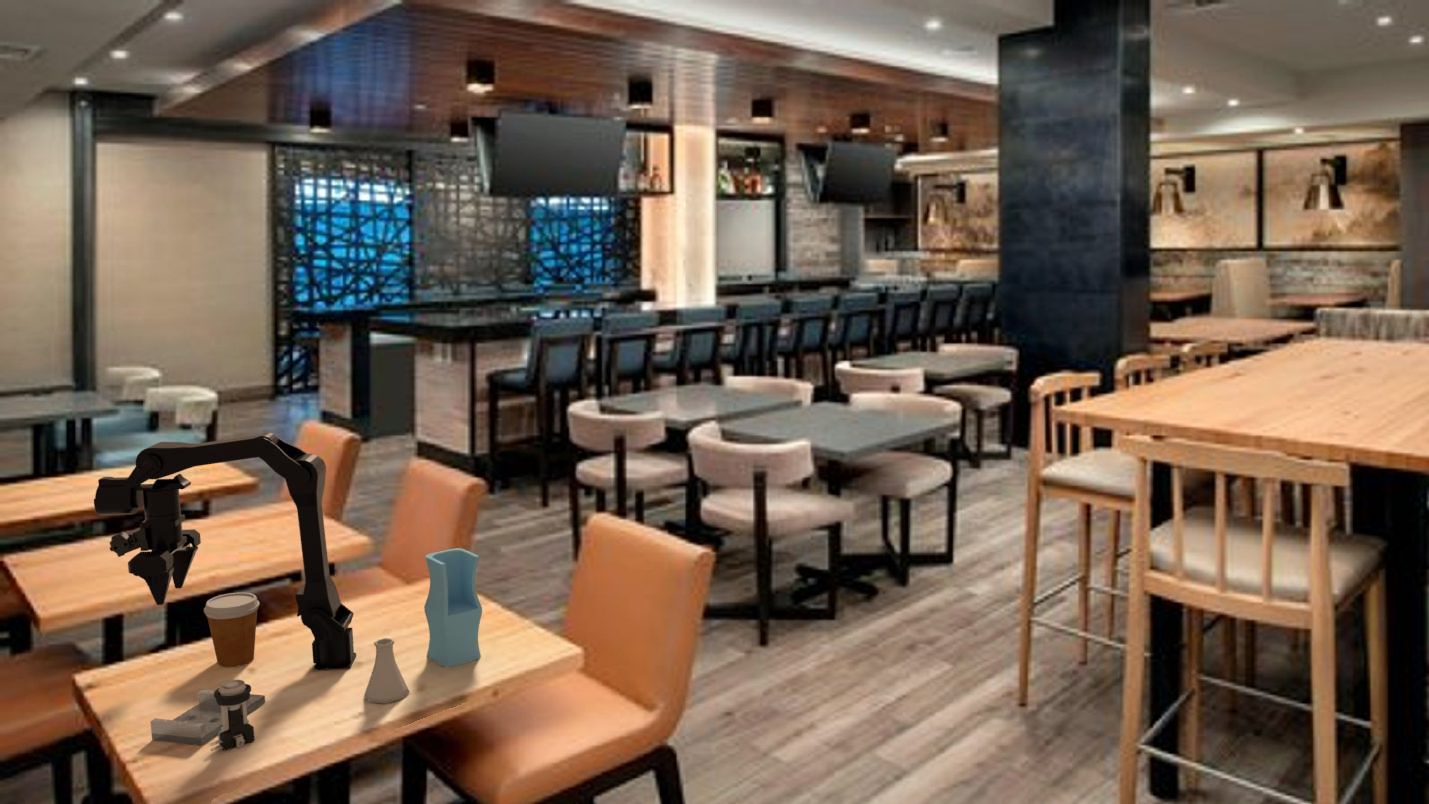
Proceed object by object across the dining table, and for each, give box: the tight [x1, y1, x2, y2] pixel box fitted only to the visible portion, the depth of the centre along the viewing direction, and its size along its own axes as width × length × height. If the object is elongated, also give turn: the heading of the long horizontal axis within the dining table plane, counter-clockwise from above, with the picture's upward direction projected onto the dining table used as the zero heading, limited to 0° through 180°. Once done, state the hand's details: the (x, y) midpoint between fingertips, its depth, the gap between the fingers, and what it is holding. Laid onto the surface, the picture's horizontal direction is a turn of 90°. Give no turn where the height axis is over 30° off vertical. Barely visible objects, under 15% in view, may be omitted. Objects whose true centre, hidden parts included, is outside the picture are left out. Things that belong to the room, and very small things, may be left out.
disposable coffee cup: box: [203, 592, 260, 668], centre depth 196 cm, size 10×10×12 cm
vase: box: [423, 547, 483, 668], centre depth 197 cm, size 8×8×20 cm
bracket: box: [150, 689, 266, 747], centre depth 172 cm, size 16×9×3 cm, turn 168°
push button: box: [209, 679, 255, 752], centre depth 163 cm, size 7×5×10 cm
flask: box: [363, 637, 410, 704], centre depth 181 cm, size 7×7×10 cm
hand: (169, 596), depth 189 cm, fingers open, 9 cm apart
